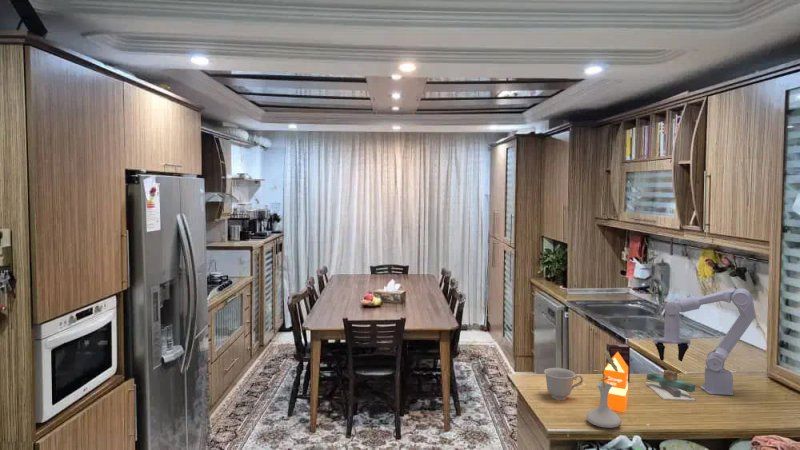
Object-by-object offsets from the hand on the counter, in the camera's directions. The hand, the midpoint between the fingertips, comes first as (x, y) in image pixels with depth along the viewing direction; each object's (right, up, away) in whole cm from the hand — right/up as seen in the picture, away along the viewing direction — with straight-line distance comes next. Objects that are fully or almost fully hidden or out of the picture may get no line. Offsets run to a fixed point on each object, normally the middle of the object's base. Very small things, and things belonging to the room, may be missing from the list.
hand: (670, 360), depth 216 cm
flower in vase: (-45, -12, -40) cm, 61 cm away
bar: (-6, -7, -10) cm, 14 cm away
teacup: (-52, -11, -17) cm, 56 cm away
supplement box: (-22, -10, +2) cm, 24 cm away
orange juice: (-34, -11, -25) cm, 44 cm away
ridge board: (-6, -10, -10) cm, 16 cm away
